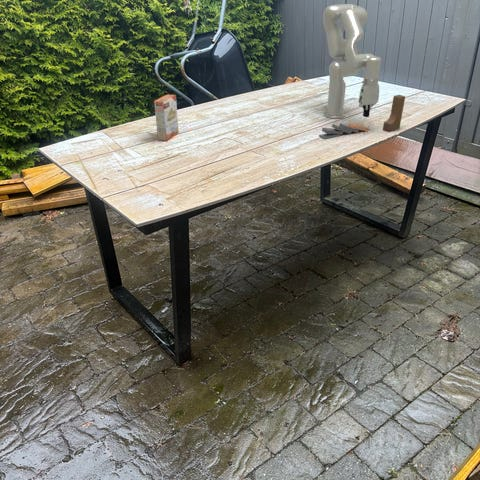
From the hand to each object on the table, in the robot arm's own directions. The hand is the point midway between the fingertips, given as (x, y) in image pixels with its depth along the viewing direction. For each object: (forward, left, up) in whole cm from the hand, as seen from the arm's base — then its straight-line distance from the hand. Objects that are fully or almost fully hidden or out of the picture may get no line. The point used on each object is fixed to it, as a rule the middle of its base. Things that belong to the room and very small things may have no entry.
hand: (365, 116), depth 248 cm
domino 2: (0, -18, -8) cm, 19 cm away
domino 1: (-1, -16, -6) cm, 17 cm away
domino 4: (0, -5, -7) cm, 9 cm away
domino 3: (0, -10, -7) cm, 12 cm away
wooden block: (+6, +14, -8) cm, 17 cm away
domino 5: (0, +1, -7) cm, 7 cm away
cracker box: (-40, -100, -8) cm, 108 cm away
